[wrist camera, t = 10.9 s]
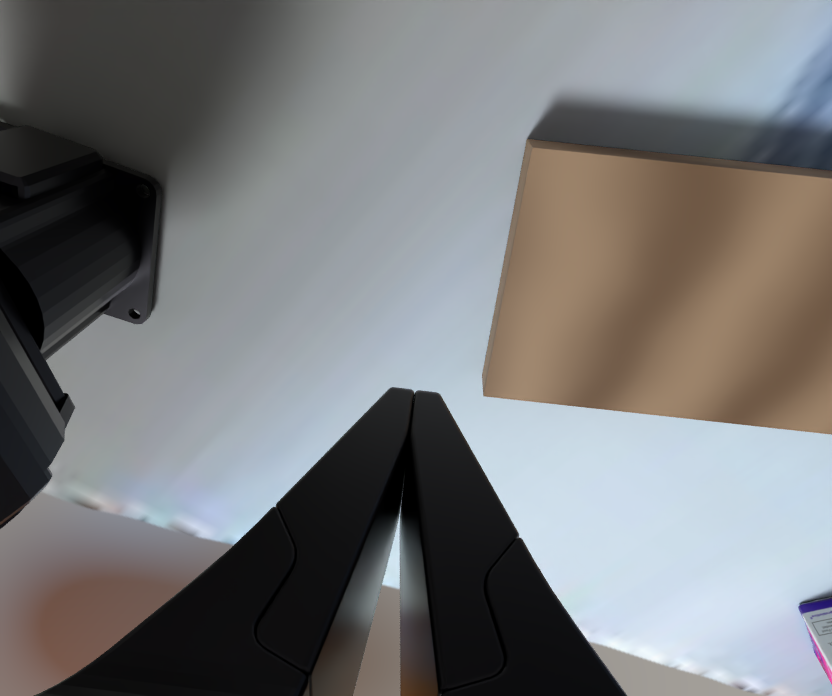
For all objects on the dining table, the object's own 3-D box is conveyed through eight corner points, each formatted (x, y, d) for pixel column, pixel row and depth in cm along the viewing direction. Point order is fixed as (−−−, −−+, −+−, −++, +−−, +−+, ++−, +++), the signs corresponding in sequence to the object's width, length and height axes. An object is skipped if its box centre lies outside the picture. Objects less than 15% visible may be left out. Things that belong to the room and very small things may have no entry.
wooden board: (482, 375, 23) (483, 397, 22) (526, 138, 18) (532, 148, 16) (977, 429, 23) (1010, 455, 21) (1173, 206, 17) (1235, 221, 16)
